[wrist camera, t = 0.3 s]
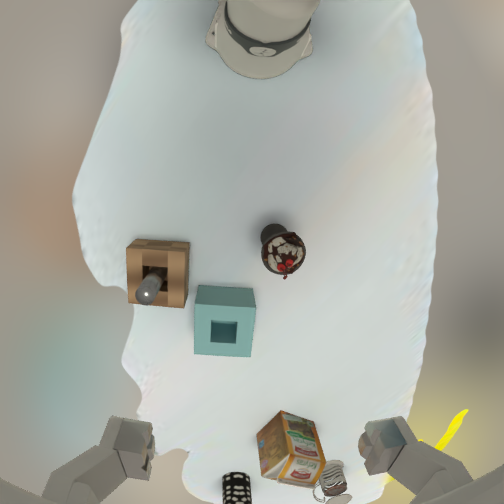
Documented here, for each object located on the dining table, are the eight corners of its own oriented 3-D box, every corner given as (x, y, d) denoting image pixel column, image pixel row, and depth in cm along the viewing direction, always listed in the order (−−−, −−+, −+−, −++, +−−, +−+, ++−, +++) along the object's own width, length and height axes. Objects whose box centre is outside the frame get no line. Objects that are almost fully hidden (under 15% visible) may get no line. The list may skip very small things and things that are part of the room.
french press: (343, 471, 80) (363, 530, 56) (308, 480, 79) (323, 540, 55) (344, 456, 77) (366, 519, 53) (307, 466, 77) (323, 532, 53)
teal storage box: (199, 285, 57) (194, 303, 50) (252, 288, 58) (256, 307, 51) (197, 331, 60) (194, 354, 53) (248, 334, 61) (250, 357, 53)
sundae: (262, 260, 57) (273, 294, 43) (251, 225, 55) (258, 249, 41) (297, 249, 57) (319, 278, 42) (286, 214, 55) (306, 233, 40)
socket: (136, 238, 54) (126, 247, 48) (189, 242, 55) (185, 252, 49) (137, 289, 57) (128, 303, 51) (188, 294, 58) (183, 308, 52)
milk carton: (256, 434, 70) (263, 492, 52) (280, 410, 68) (293, 471, 50) (289, 444, 72) (300, 499, 54) (313, 421, 70) (331, 478, 52)
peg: (153, 260, 54) (134, 285, 43) (169, 261, 55) (154, 287, 43) (153, 275, 55) (135, 304, 44) (168, 277, 56) (154, 306, 44)
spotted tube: (239, 469, 75) (242, 524, 56) (254, 479, 77) (260, 531, 58) (216, 476, 76) (217, 529, 57) (233, 486, 78) (235, 536, 59)
